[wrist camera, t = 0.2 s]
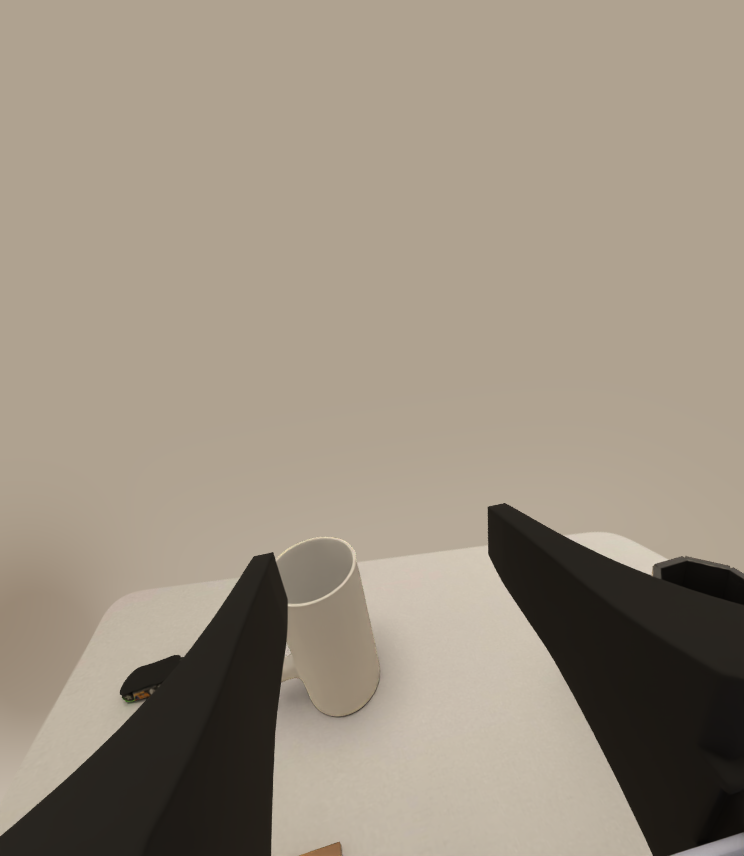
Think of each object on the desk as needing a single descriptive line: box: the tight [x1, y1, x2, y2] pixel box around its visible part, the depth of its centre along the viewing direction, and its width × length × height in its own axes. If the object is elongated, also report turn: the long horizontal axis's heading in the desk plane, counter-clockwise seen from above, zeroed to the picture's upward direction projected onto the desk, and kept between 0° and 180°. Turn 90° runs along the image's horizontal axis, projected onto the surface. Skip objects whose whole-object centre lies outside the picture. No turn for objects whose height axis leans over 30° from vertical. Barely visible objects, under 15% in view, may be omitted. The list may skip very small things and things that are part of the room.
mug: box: [275, 537, 380, 716], centre depth 27 cm, size 10×7×12 cm, turn 107°
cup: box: [651, 556, 744, 605], centre depth 21 cm, size 5×5×7 cm
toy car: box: [120, 655, 184, 702], centre depth 32 cm, size 3×6×2 cm, turn 91°
